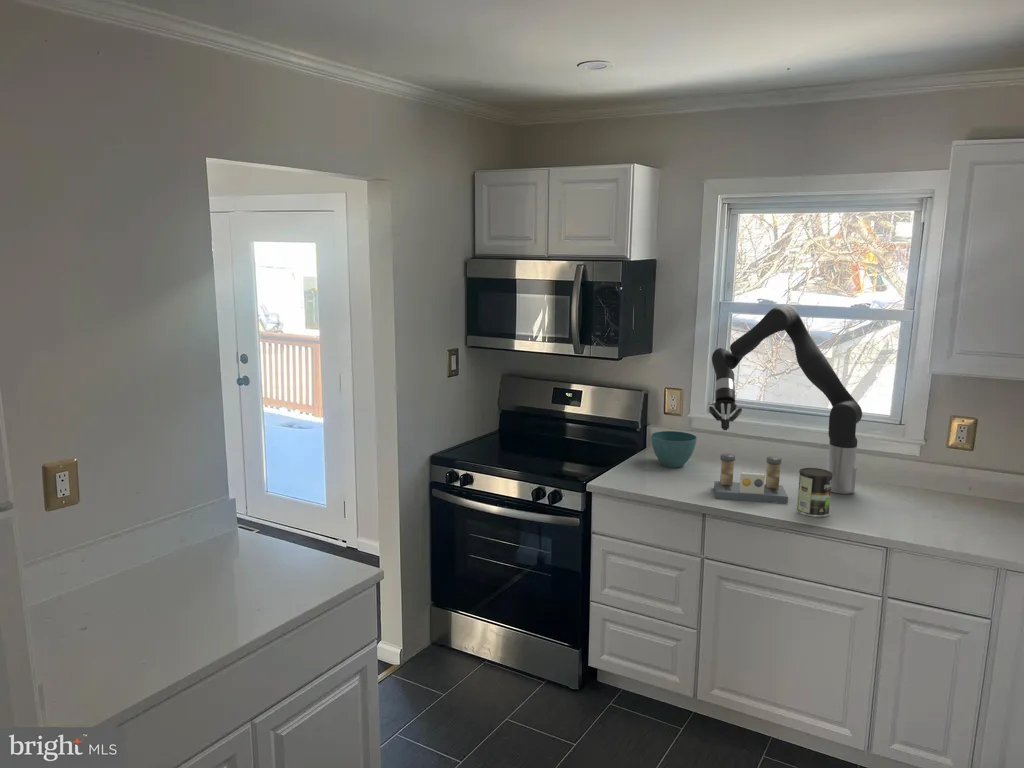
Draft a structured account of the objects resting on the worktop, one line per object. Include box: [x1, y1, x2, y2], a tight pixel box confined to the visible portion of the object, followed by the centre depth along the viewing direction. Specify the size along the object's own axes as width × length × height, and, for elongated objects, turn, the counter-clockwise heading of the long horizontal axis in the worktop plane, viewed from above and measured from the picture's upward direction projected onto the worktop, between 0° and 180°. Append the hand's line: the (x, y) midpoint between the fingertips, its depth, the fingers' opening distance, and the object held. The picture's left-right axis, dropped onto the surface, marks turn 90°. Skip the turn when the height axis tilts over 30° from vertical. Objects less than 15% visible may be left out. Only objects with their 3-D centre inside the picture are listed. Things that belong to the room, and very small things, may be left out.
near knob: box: [765, 455, 783, 489], centre depth 265 cm, size 5×5×11 cm
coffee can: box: [796, 467, 833, 518], centre depth 247 cm, size 10×10×14 cm
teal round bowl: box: [650, 430, 698, 468], centre depth 302 cm, size 18×18×12 cm
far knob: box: [720, 453, 736, 485], centre depth 269 cm, size 5×5×11 cm
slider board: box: [713, 471, 789, 504], centre depth 264 cm, size 24×13×10 cm, turn 78°
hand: (725, 429), depth 283 cm, fingers closed
